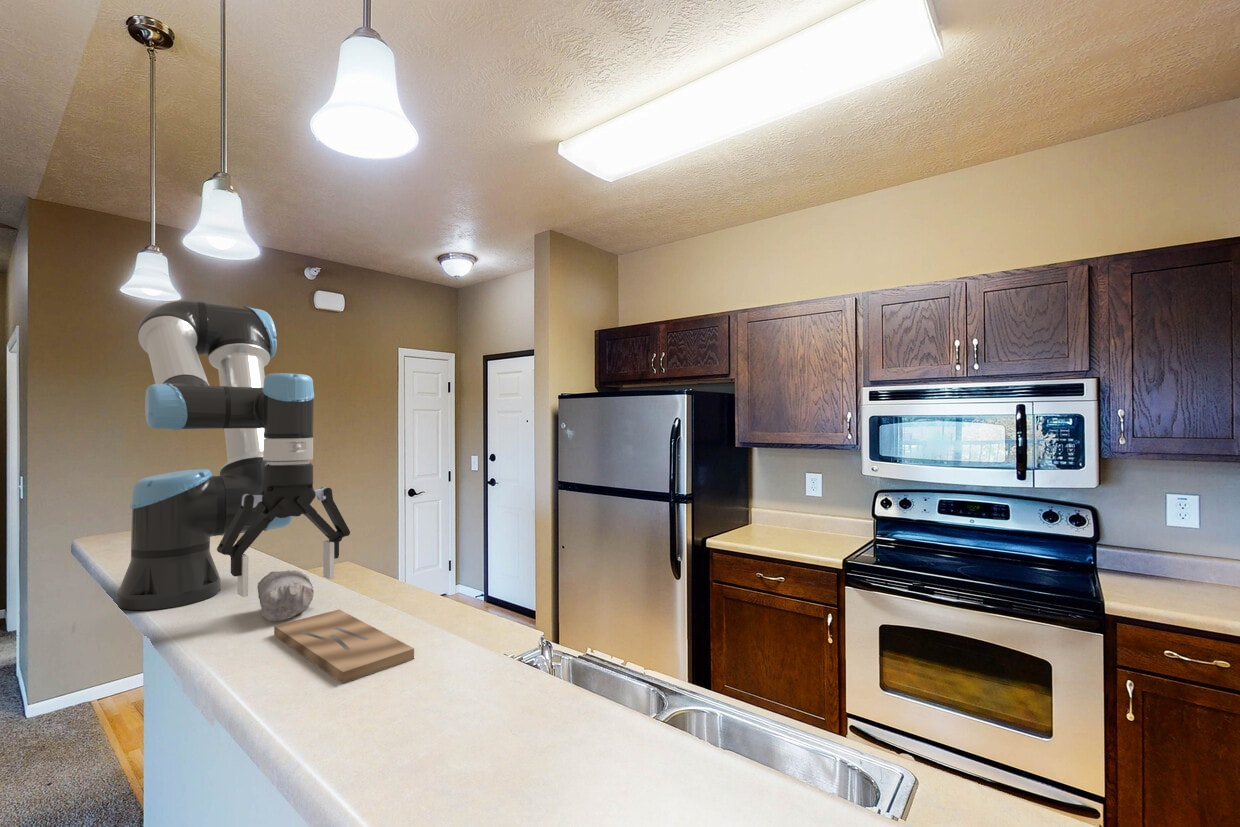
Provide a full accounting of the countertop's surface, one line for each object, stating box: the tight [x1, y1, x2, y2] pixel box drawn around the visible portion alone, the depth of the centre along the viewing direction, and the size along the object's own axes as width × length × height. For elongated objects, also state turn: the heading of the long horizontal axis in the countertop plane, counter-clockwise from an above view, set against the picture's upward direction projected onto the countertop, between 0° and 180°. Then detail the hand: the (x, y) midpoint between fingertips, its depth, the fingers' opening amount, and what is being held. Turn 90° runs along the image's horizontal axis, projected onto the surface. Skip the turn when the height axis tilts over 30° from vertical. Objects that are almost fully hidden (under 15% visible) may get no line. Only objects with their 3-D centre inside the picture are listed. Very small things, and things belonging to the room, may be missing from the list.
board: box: [273, 609, 415, 684], centre depth 86 cm, size 24×10×2 cm, turn 50°
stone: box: [257, 570, 315, 622], centre depth 99 cm, size 8×12×7 cm, turn 36°
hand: (287, 586), depth 99 cm, fingers open, 13 cm apart
